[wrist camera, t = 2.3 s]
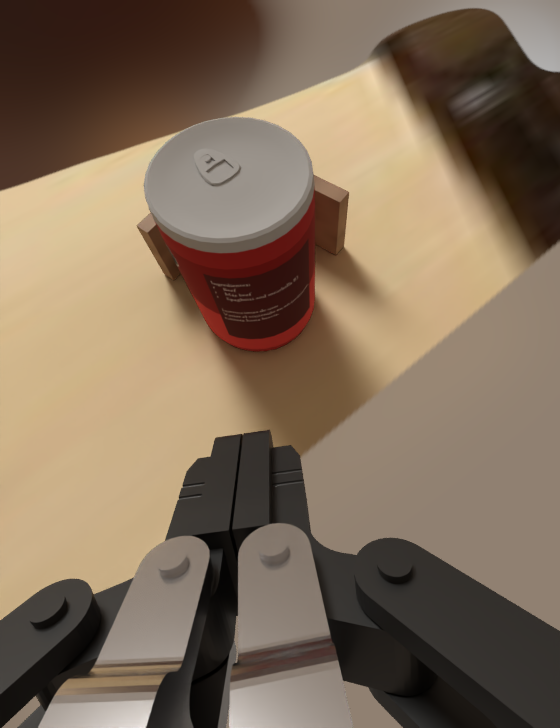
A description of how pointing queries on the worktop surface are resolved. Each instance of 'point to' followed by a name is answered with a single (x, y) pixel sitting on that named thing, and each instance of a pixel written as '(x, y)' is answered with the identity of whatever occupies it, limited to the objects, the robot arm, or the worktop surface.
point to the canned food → (239, 226)
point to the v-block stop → (327, 226)
